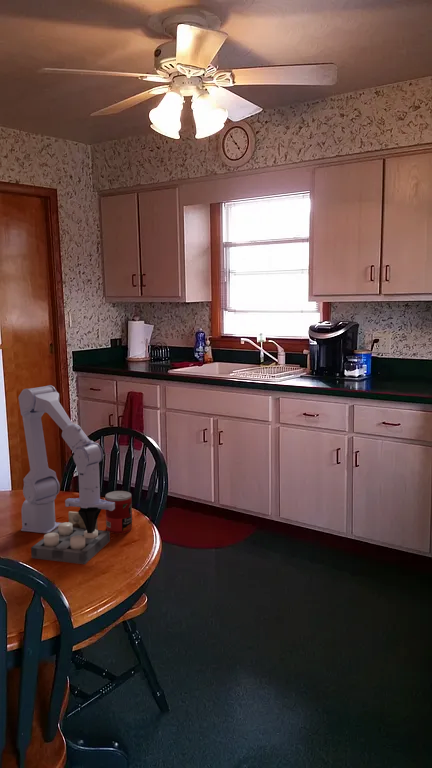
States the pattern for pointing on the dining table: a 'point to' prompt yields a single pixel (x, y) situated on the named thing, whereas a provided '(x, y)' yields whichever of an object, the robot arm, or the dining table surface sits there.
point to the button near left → (51, 539)
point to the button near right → (77, 542)
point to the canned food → (119, 512)
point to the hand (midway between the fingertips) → (90, 532)
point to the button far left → (65, 529)
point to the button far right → (91, 534)
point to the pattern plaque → (77, 520)
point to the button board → (65, 551)
